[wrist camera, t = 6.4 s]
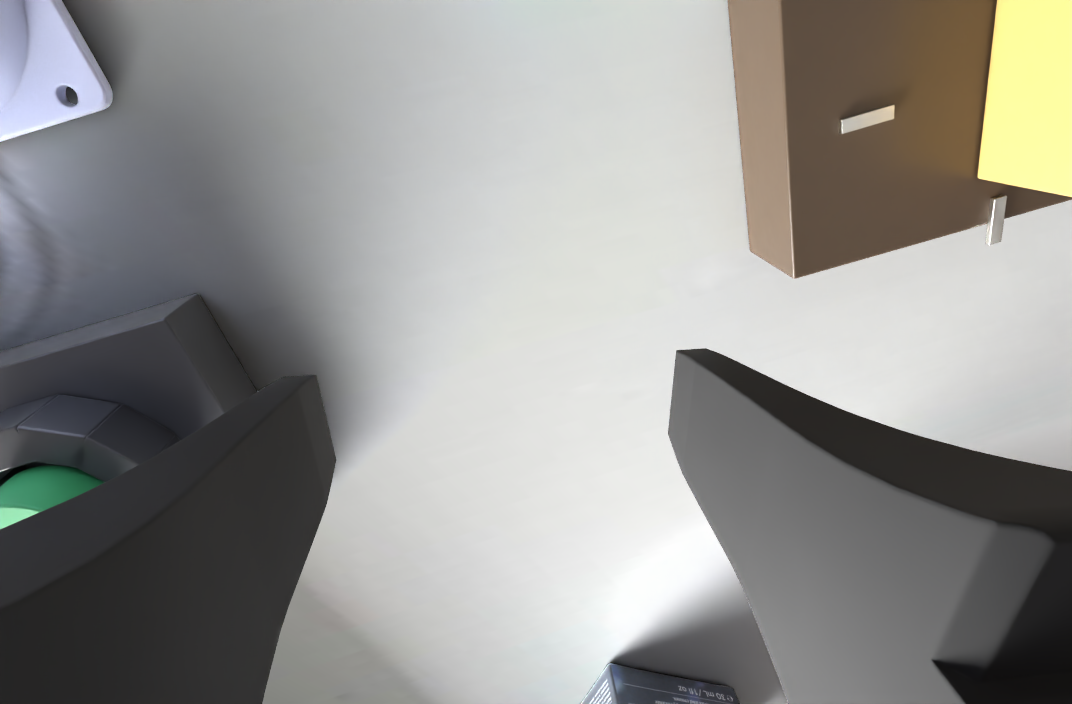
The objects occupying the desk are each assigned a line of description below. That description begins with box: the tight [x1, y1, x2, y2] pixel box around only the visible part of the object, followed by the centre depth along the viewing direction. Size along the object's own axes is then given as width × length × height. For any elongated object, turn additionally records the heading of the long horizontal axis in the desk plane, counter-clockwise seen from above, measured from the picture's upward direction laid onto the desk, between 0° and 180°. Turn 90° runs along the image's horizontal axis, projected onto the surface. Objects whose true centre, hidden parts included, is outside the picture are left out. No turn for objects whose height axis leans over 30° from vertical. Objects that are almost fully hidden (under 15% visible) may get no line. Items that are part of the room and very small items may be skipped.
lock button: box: [0, 465, 105, 529], centre depth 16 cm, size 4×4×2 cm
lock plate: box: [728, 0, 1072, 278], centre depth 16 cm, size 12×9×3 cm
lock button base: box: [0, 293, 257, 486], centre depth 18 cm, size 10×9×4 cm
